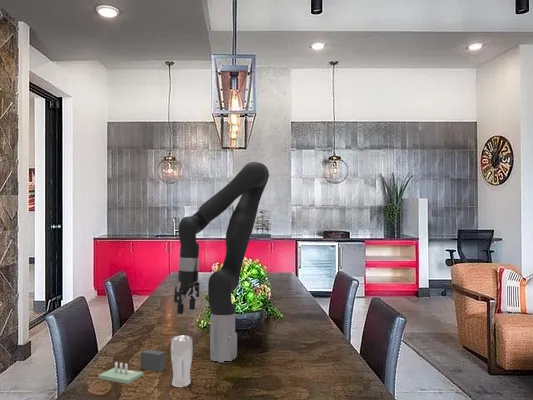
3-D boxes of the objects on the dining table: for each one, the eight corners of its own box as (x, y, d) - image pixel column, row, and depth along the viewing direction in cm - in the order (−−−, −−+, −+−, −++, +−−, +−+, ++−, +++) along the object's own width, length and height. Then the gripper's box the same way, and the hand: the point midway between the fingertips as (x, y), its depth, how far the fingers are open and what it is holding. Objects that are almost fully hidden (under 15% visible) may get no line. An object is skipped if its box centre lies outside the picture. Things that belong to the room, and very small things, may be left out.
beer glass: (193, 381, 162) (194, 335, 162) (191, 388, 155) (191, 340, 155) (172, 381, 162) (172, 335, 162) (168, 389, 155) (169, 340, 155)
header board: (143, 376, 166) (143, 361, 166) (128, 383, 159) (128, 369, 159) (114, 371, 171) (114, 357, 171) (98, 378, 163) (98, 364, 163)
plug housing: (165, 369, 173) (165, 351, 173) (159, 372, 170) (159, 354, 170) (146, 366, 176) (146, 349, 176) (140, 369, 173) (140, 352, 173)
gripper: (187, 272, 180) (184, 316, 180) (206, 267, 193) (204, 309, 193) (169, 270, 182) (167, 313, 183) (189, 265, 196) (187, 306, 196)
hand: (186, 311), depth 188 cm, fingers open, 8 cm apart
